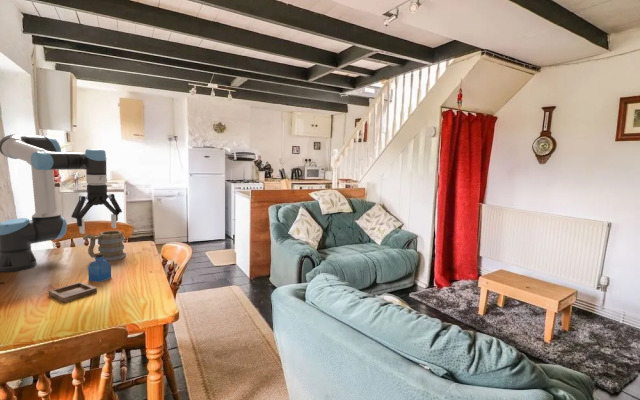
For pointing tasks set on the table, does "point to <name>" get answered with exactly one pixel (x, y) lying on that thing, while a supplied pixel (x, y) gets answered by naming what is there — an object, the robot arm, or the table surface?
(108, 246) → the tankard
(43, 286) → the table surface
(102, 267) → the perfume bottle
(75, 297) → the walnut tray
